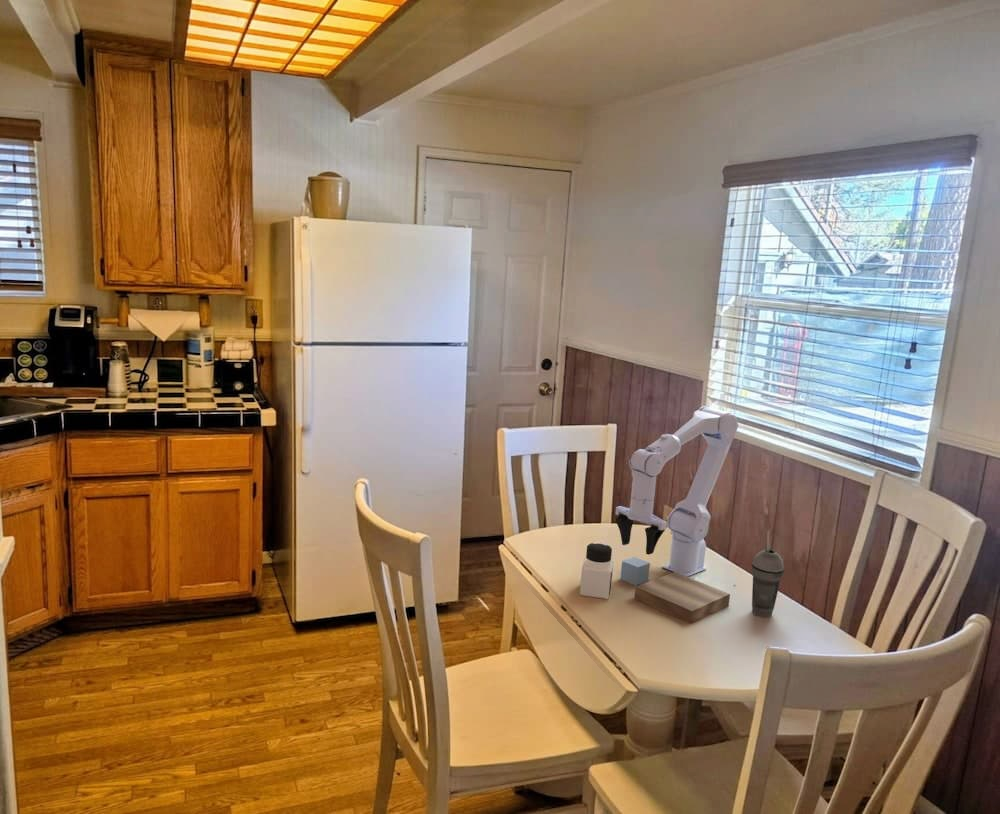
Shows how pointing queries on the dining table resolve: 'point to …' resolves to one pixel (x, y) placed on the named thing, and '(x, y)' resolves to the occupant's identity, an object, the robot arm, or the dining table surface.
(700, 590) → the walnut plinth
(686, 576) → the robot arm
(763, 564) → the beverage cup
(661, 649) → the dining table surface
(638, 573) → the slate block
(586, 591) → the medicine bottle
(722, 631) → the dining table surface
